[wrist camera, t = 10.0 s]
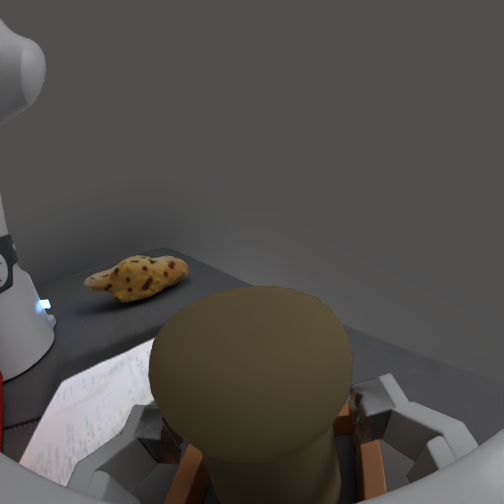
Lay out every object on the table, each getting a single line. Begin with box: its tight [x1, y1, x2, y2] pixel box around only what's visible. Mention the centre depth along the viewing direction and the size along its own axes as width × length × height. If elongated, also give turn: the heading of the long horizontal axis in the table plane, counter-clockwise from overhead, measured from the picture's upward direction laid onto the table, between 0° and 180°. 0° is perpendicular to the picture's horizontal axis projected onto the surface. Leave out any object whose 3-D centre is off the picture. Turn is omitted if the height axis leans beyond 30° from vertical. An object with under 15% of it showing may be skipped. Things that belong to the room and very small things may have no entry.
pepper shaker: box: [148, 286, 353, 504], centre depth 8 cm, size 6×6×11 cm
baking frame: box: [164, 402, 387, 504], centre depth 9 cm, size 10×10×2 cm
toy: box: [84, 255, 188, 303], centre depth 37 cm, size 6×15×10 cm
